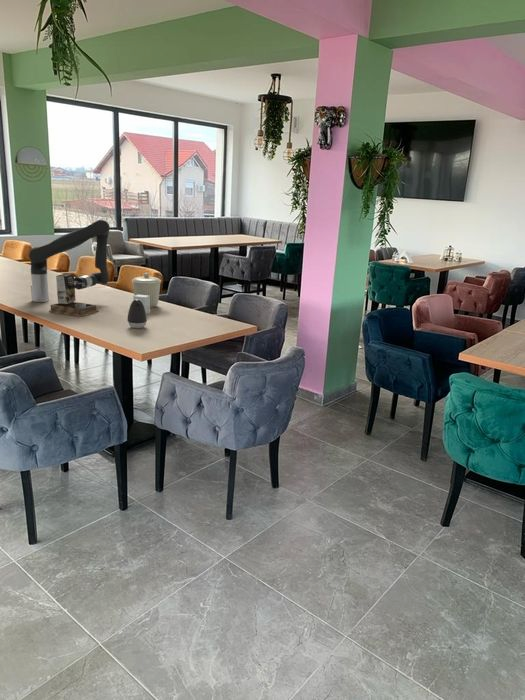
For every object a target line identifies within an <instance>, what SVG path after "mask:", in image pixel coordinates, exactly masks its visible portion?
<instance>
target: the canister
mask: <svg viewBox="0 0 525 700" xmlns="http://www.w3.org/2000/svg"><path fill="white" fill-rule="evenodd" d="M131 282H132V287H133V296H135V295H138V294H139V295H148V296H150V309H151V308H156V307H157V306H158V305H159V300H160V289H161V283H162V279H160V278H158V277H156V276H150V273H149V272H144V273H143V275H142V276H136V277H134V278H133V279H131Z"/></svg>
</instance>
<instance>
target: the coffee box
mask: <svg viewBox="0 0 525 700" xmlns="http://www.w3.org/2000/svg"><path fill="white" fill-rule="evenodd" d="M55 278H56V279H55V280H56V292H57V294H56V295H57V303H62V304H69V303H71V302H77V301H76V288H75V289H74V288H73V289H68V285H72V284H74V278H75V274H74V273H61V274H57V275H56V276H55Z"/></svg>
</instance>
